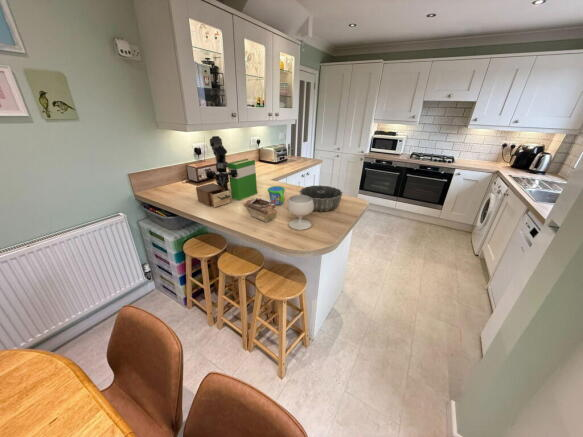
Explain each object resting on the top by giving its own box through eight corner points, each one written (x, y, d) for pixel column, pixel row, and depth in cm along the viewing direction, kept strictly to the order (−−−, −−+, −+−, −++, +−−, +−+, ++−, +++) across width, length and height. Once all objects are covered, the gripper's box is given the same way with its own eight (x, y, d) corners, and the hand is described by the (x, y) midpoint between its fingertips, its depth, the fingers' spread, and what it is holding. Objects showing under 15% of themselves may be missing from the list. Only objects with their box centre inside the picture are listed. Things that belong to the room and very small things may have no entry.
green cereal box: (249, 191, 174) (247, 158, 163) (257, 193, 170) (254, 159, 159) (231, 198, 161) (227, 163, 150) (239, 200, 157) (235, 164, 146)
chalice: (300, 216, 134) (300, 192, 127) (318, 225, 124) (320, 198, 118) (281, 224, 125) (281, 198, 118) (300, 233, 116) (300, 206, 109)
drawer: (234, 204, 149) (233, 192, 145) (219, 209, 141) (217, 197, 138) (219, 197, 160) (217, 186, 156) (203, 201, 152) (201, 190, 149)
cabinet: (226, 201, 156) (224, 187, 151) (209, 206, 147) (207, 192, 143) (214, 196, 164) (212, 182, 160) (198, 200, 156) (195, 187, 152)
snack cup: (265, 200, 156) (264, 186, 152) (279, 198, 160) (279, 184, 156) (273, 209, 144) (273, 193, 139) (289, 206, 148) (289, 190, 143)
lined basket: (259, 227, 123) (257, 210, 118) (238, 215, 136) (236, 199, 131) (278, 219, 131) (277, 203, 126) (256, 209, 144) (255, 194, 139)
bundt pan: (309, 196, 164) (309, 182, 159) (346, 202, 153) (347, 188, 148) (292, 209, 143) (292, 194, 138) (333, 218, 132) (334, 202, 127)
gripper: (203, 157, 139) (204, 181, 134) (235, 156, 143) (237, 179, 138) (207, 167, 149) (208, 189, 145) (236, 166, 153) (238, 187, 148)
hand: (223, 186), depth 144 cm, fingers closed
